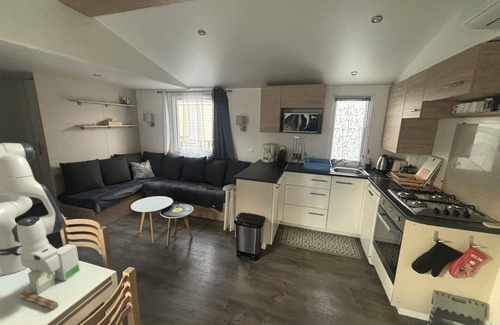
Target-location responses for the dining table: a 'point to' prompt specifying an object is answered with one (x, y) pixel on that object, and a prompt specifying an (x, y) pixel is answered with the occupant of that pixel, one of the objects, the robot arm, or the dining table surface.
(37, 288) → the sage tea box
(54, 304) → the rail
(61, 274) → the skincare box
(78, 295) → the dining table surface
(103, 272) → the dining table surface
